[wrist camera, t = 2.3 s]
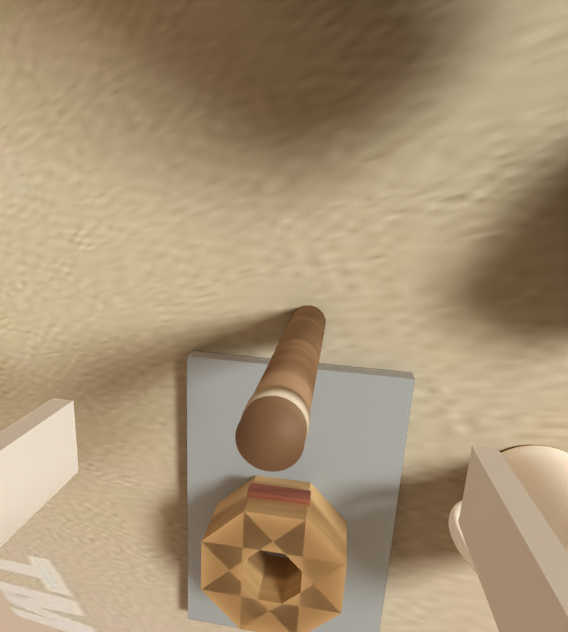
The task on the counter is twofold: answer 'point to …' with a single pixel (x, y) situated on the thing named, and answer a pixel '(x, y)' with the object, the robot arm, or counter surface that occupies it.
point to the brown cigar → (283, 397)
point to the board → (304, 468)
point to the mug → (532, 490)
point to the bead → (271, 571)
